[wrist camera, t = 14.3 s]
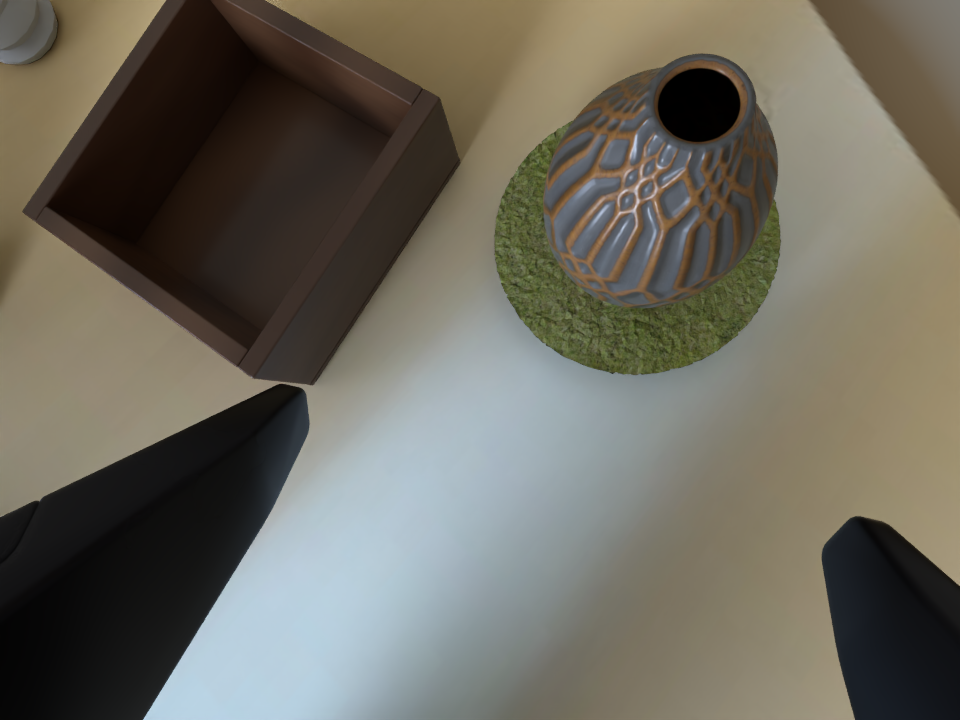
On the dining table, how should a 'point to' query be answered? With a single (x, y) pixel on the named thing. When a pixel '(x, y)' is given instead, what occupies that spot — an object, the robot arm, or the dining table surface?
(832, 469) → the dining table surface
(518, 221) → the mat
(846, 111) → the dining table surface
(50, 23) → the rook chess piece
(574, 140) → the vase
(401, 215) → the box
